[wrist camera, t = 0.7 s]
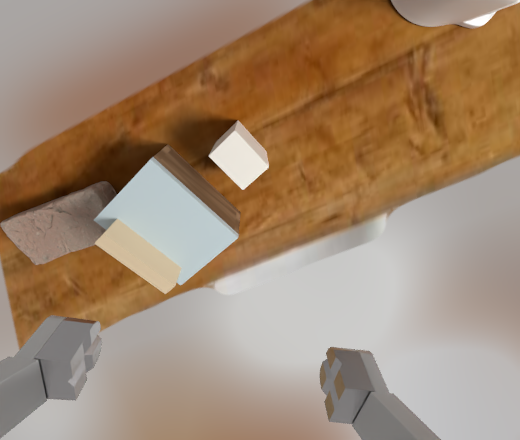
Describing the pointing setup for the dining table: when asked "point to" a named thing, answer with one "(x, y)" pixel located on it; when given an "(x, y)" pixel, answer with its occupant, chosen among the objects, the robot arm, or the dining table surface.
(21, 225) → the brick
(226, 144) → the block
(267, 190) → the dining table surface
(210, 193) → the dark wood box
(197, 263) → the lid
